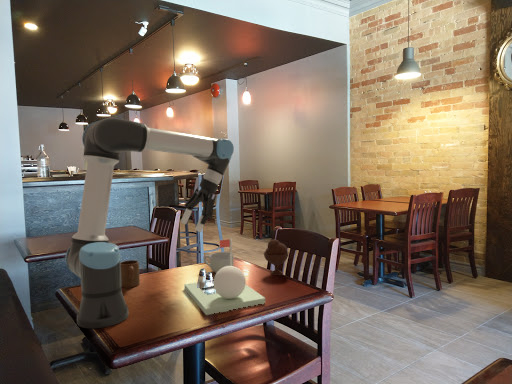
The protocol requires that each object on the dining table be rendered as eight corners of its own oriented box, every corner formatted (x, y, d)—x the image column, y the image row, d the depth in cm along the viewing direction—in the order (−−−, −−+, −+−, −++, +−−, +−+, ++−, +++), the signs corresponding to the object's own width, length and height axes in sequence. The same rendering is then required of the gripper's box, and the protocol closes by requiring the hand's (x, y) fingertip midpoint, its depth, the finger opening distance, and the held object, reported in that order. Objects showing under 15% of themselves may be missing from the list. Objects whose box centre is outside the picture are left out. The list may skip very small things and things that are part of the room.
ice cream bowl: (263, 277, 158) (262, 242, 157) (266, 270, 169) (265, 237, 168) (288, 277, 156) (287, 242, 155) (289, 270, 167) (288, 237, 166)
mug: (143, 289, 146) (142, 265, 145) (122, 292, 143) (121, 268, 142) (138, 281, 157) (137, 259, 156) (119, 284, 153) (117, 261, 153)
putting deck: (265, 303, 127) (264, 251, 126) (206, 315, 119) (204, 259, 118) (235, 281, 153) (233, 238, 152) (184, 289, 145) (182, 243, 143)
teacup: (238, 270, 170) (237, 252, 169) (226, 276, 160) (226, 258, 160) (212, 267, 176) (211, 250, 175) (199, 273, 166) (198, 255, 165)
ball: (238, 305, 121) (237, 271, 121) (208, 301, 125) (207, 269, 124) (250, 294, 132) (250, 263, 131) (222, 291, 135) (221, 261, 135)
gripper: (233, 189, 152) (211, 237, 150) (203, 180, 172) (184, 223, 169) (219, 182, 147) (196, 231, 145) (190, 174, 167) (170, 217, 165)
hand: (190, 227), depth 157 cm, fingers open, 13 cm apart
